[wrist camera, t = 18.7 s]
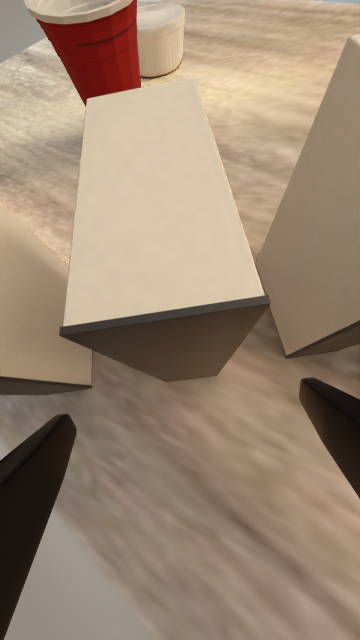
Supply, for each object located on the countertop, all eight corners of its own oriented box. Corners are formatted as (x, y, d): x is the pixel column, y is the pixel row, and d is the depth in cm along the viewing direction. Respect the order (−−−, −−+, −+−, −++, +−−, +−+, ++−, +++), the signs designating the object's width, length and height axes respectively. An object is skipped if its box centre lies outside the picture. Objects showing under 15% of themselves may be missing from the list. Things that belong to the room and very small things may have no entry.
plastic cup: (110, 175, 26) (43, 11, 15) (78, 140, 30) (6, -12, 19) (177, 138, 28) (161, -36, 16) (138, 110, 31) (104, -48, 20)
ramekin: (171, 46, 39) (166, -5, 34) (198, 66, 35) (197, 11, 30) (119, 65, 38) (106, 16, 33) (140, 88, 34) (130, 36, 29)
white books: (339, 350, 15) (828, 185, 3) (44, 395, 16) (-382, 390, 4) (297, 256, 19) (468, 9, 7) (55, 298, 20) (-169, 148, 8)
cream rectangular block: (217, 375, 16) (271, 303, 4) (166, 382, 16) (58, 335, 4) (199, 278, 19) (195, 75, 7) (157, 285, 19) (84, 98, 7)
